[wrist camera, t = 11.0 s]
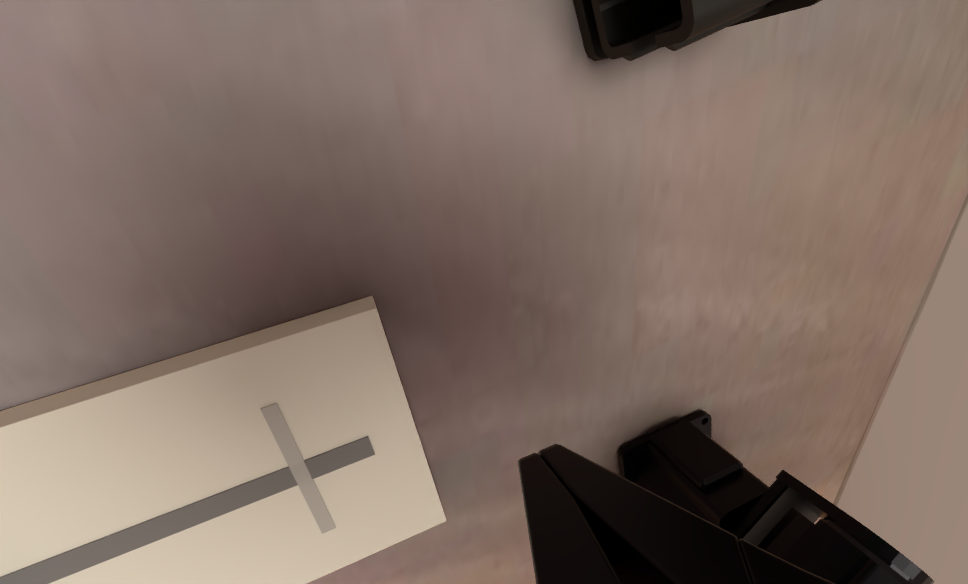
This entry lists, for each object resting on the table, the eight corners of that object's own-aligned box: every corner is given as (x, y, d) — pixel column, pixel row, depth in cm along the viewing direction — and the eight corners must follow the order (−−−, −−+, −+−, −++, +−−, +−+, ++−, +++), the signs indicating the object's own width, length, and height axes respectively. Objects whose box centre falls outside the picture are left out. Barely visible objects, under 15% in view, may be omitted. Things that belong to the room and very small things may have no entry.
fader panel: (439, 498, 23) (447, 522, 22) (-125, 743, 18) (-164, 796, 16) (372, 295, 19) (376, 308, 17) (-424, 542, 13) (-514, 592, 12)
